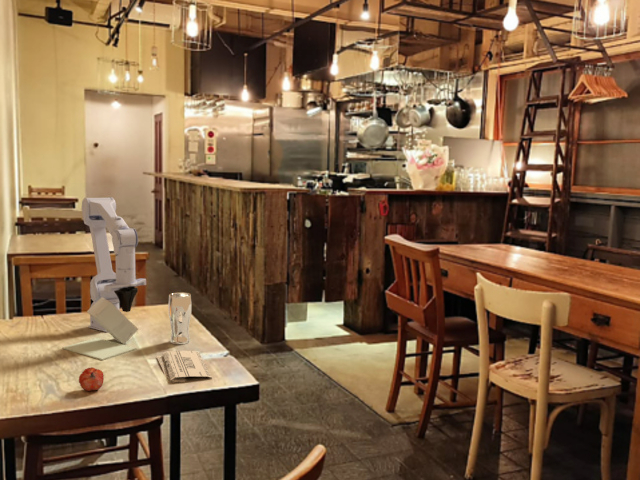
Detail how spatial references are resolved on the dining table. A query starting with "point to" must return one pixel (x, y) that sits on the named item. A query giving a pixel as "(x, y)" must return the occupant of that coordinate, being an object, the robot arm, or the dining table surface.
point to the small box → (112, 320)
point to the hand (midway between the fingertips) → (126, 311)
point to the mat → (99, 348)
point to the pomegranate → (91, 379)
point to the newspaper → (183, 365)
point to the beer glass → (179, 317)
